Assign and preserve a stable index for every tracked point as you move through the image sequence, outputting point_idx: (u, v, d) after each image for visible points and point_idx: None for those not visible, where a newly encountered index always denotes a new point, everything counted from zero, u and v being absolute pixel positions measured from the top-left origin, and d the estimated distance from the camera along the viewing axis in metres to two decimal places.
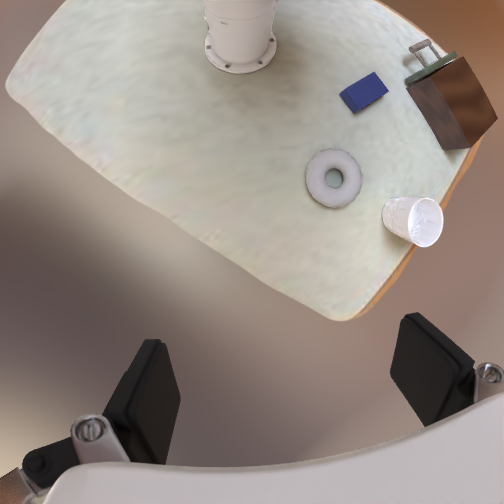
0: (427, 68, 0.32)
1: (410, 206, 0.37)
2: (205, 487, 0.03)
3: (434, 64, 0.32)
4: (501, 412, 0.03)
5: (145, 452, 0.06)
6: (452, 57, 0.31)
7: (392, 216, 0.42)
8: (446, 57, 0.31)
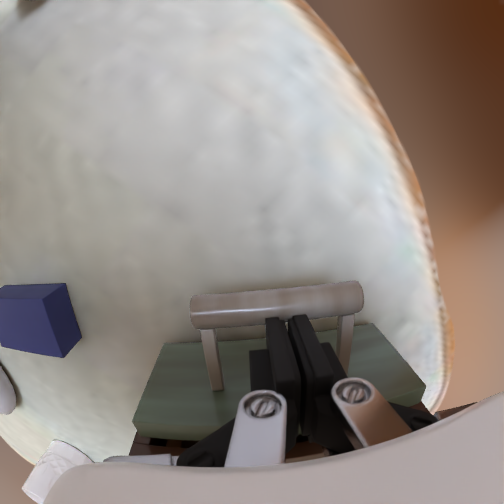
0: (157, 427, 0.10)
1: (27, 485, 0.12)
2: (205, 487, 0.03)
3: (217, 429, 0.10)
4: (501, 412, 0.03)
5: None
6: None
7: (37, 462, 0.16)
8: None
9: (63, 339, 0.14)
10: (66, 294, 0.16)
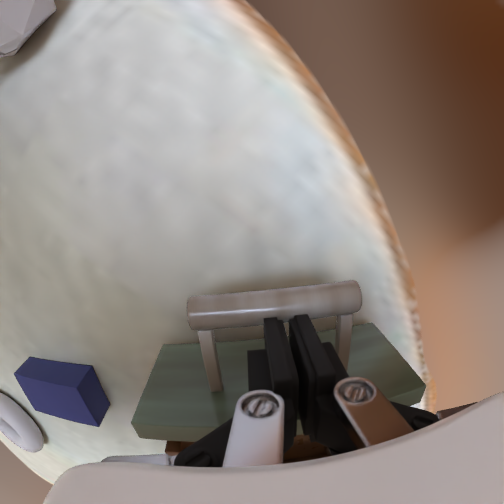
0: (155, 428, 0.09)
1: None
2: (205, 487, 0.03)
3: None
4: (501, 412, 0.03)
5: None
6: None
7: None
8: None
9: (97, 412, 0.16)
10: (93, 374, 0.17)
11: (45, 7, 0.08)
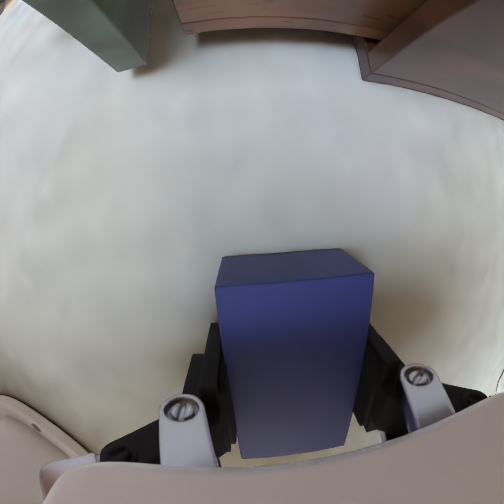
0: None
1: None
2: (205, 487, 0.03)
3: None
4: (501, 412, 0.03)
5: (225, 429, 0.07)
6: None
7: None
8: None
9: (330, 268, 0.08)
10: (242, 257, 0.10)
11: None
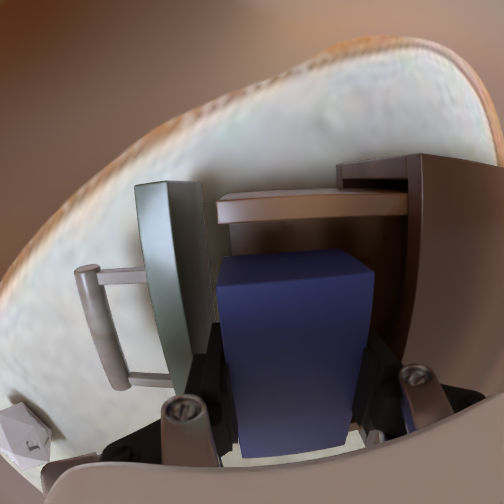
0: None
1: None
2: (205, 487, 0.03)
3: None
4: (501, 412, 0.03)
5: (226, 428, 0.07)
6: (166, 256, 0.09)
7: None
8: (160, 314, 0.09)
9: (331, 267, 0.08)
10: (243, 256, 0.10)
11: (19, 411, 0.18)
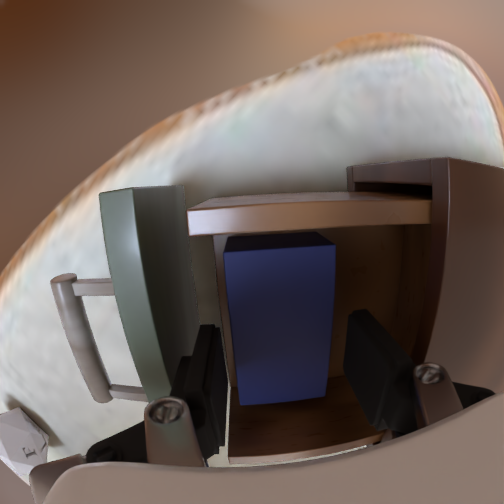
0: None
1: None
2: (205, 487, 0.03)
3: None
4: (501, 412, 0.03)
5: (212, 431, 0.07)
6: (134, 271, 0.08)
7: None
8: (131, 332, 0.08)
9: (305, 242, 0.11)
10: (242, 237, 0.13)
11: (15, 416, 0.17)
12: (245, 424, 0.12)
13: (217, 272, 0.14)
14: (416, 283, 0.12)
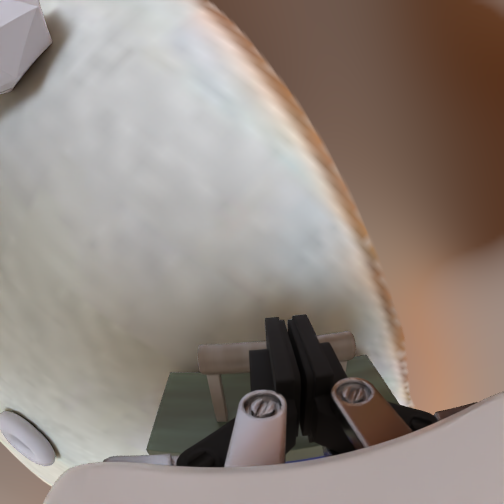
0: None
1: None
2: (205, 487, 0.03)
3: None
4: (501, 412, 0.03)
5: None
6: None
7: None
8: None
9: None
10: None
11: (39, 43, 0.10)
12: None
13: None
14: None
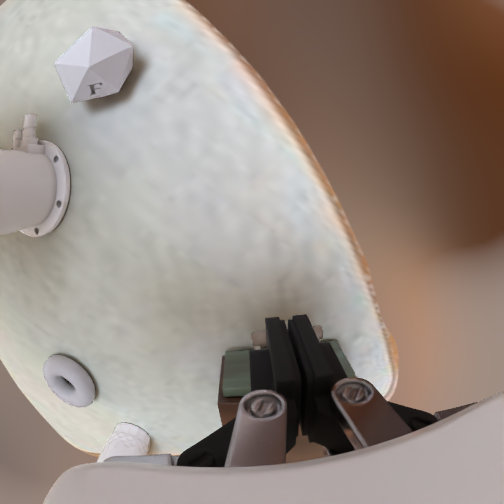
0: (234, 390, 0.25)
1: (104, 458, 0.27)
2: (205, 487, 0.03)
3: None
4: (501, 412, 0.03)
5: None
6: None
7: None
8: None
9: None
10: None
11: (128, 69, 0.22)
12: (241, 395, 0.28)
13: None
14: None
